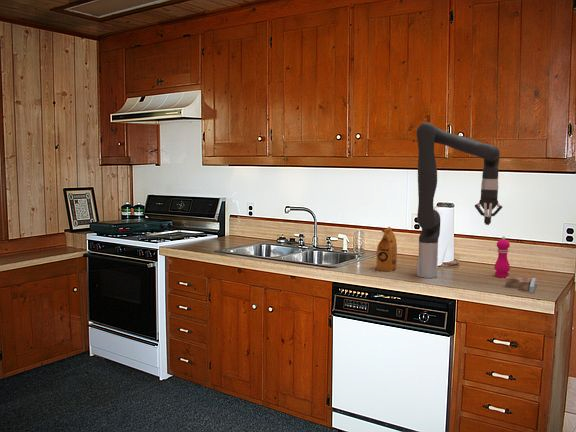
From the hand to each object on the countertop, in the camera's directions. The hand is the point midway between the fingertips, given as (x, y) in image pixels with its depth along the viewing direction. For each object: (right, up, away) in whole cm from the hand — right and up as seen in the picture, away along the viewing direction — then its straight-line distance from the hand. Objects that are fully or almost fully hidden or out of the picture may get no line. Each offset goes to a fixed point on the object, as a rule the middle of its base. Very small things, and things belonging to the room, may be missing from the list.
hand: (487, 224), depth 265 cm
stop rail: (+16, -29, -13) cm, 35 cm away
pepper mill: (+11, -26, +12) cm, 31 cm away
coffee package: (-43, -24, +28) cm, 57 cm away
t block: (+10, -28, -10) cm, 32 cm away
